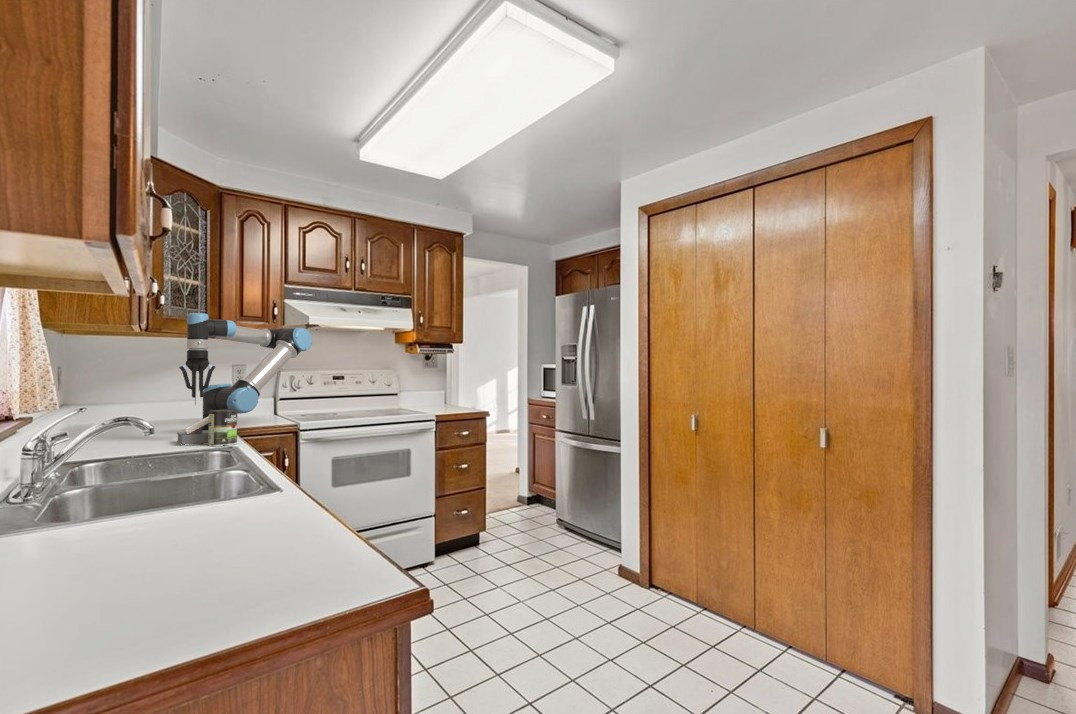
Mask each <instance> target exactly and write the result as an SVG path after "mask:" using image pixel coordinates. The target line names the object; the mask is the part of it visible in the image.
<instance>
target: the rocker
mask: <svg viewBox="0 0 1076 714" xmlns="http://www.w3.org/2000/svg"><path fill="white" fill-rule="evenodd" d="M202 419H203V418H202ZM202 419H200V420H199V421H197V422H195V423H193V424H192V425H188V426H187V427H186V428H184V429H183V430H184V432H186V433H187V434H189V433H191V432H193V431H195V430H196V429H199V428H200V427H202V426H204V425H206V424H208V423H209V416H208V417H206V418H204V419H203V420H202Z"/></svg>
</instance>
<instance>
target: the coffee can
mask: <svg viewBox="0 0 1076 714" xmlns="http://www.w3.org/2000/svg"><path fill="white" fill-rule="evenodd" d="M237 412H238V410H236V409H220V410H210V411H209V441H208V444H207V446H208V445H211V446H210V447H222V446H221V445H230V446H232V445H231V444H235V445H237V444H238V414H237Z"/></svg>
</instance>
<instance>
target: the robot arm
mask: <svg viewBox="0 0 1076 714" xmlns="http://www.w3.org/2000/svg"><path fill="white" fill-rule="evenodd" d="M186 337H187V338H186V349H188V350H186V361H185V364H183V365H180V366H179V368H178V369H179V370H180V371H181V372H182V376H183V379H184V382H185V386H186V388H187V389H189V390H191V397H192V398H194V406H196V407H197V406H201V398H202V419H201V420H203V419H204V418H206V417H208V416H209V411H210V410H220V409H236V410H238V412H237V415H238V414H248V413H250V412H251V411H253V410H254V409H255V408H256V407H257V405H258V403H259V401H258V400H259V397H260V396H261V392H260V391H261V390H262V389H263V388H264V387H265V386H266V385H267V384H268V382H270V381H271V380H272V378H273V377H274V376H276V374H277V373H278V372H279V371H280V370H281V369H282V368H283V367H284V366H285V364H287V363H288V361H289V360H290V359H295V358H296V357H297V356H299V355H300V353H302V352H305V351H308V350H309V349H310V348H311V346H312V344H313V336H312V335H311V332H310V331H309V330H308V329H306V328H304V327H292V328H291V327H289V328H288V327H283V328H266V327H264V328H262V329H261V328H253V327H248V326H247V327H246V326H240V325H237V324H236V323H235V322H234V321H233V320H230V319H229V320H228V319H216V318H215V319H214V318H213V319H212V318H209V314H207V313H203V312H201V313H200V312H190V313H188V314H187V317H186ZM209 339H213V340H215V339H216V340H222V341H231V342H238V343H247V344H252V345H258V346H260V347H261V348H266V349H271V351H270V352H269V353H268V354H267V355H266V356H265V357H264V358H263V359H262V360H261V361H260V362H259V364H257V365H256V367H254V368H253V370H252V371H250V373H248V374H247V375H246V376H245V377H244V378H240V379H238V380H236V382H234V384H232V383H221V384H219V383H218V384H210V382H211V378H212V374H213V372H214V370H215V369H216V366H215V365H213V364H210V361H209V351H208V349H209ZM187 368H188V369H189V370H190V371H191V383H190V379H189V375H188V371H187ZM206 369H208V371H207V374H206V378H205V381H204V371H205V370H206ZM197 372H198V389H197ZM200 428H201V429H202V431H206V430H209V423H208V424H206V425H204V426H202V427H200Z"/></svg>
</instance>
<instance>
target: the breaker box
mask: <svg viewBox="0 0 1076 714" xmlns="http://www.w3.org/2000/svg"><path fill="white" fill-rule="evenodd" d="M208 441H209V430H206V431H202V429H201V428H198V429H196V430H195V433H189V434H187V433H186V432H185V431H179V432H177V443H178V442H179V443H181V444H182V445H185V444H198V445H201V444H200V443H208ZM179 443H178V444H179ZM181 444H180V445H181ZM182 445H181V446H182Z"/></svg>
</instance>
